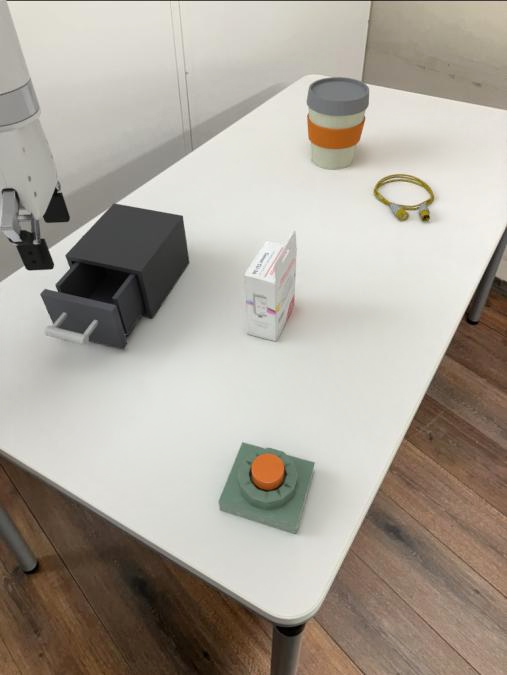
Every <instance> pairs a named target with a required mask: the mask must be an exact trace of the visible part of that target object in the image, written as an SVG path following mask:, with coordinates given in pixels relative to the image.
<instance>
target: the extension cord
mask: <svg viewBox="0 0 507 675" xmlns="http://www.w3.org/2000/svg"><path fill="white" fill-rule="evenodd" d="M393 182H408V183H411V184H415V185H418V186H420V187H422V188H424V189H425V190H426V191H428V193H429V195H430V197H429V198H428V199H426V200H424V201H422V202H420V203H418V204H415V205H407V204H399V203H395V202H391V201H389V200H388V199H386V198H385V197H384V196H383V195H382V194H381V193H380V192H379V191H378V189H379V188H380V187H381V186H383V185H385V184H388V183H393ZM373 194H374V196H375V198H377V199H378V200H379V201H380V202H382V203H383V204H385V205H387V206H389V209H390V210H391V211H392V213H393V215H394V216H396V217H397V218H398V219H399V220H401V221H402V222H404V221H406V220H408V219H409V217H410V215H409V212H408V211H409V210H410V211H415V210H418V214H419V217H420V218H421V221H422V222H429V221H430V220H431V215H430V214H431V212H430V208H429V207H428V206H429V205H431V204H432V203H433V202H434V200H435V195H434V191H433V189H432V188H431V186H429V184H428V183H427V182H425V181H424V180H422V179H421V178H419V177H416V176H414V175H411V174H406V173H395V174H389V175H387V176H385V177H382V178H381V179H380V180H379V181H378V182H376V184H375V186H374V188H373ZM406 210H408V211H406Z"/></svg>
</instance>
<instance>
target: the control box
mask: <svg viewBox="0 0 507 675" xmlns="http://www.w3.org/2000/svg"><path fill="white" fill-rule="evenodd" d="M262 454H273V455H276V456H277V457H279V458H280V459H281V460H282V462H283V464H284V479H283V482H282V483H281V485H280V486H279V487H277V488H276V489H273V490H263V489H260V488H259V487H257V486H256V485H255V484H254V482H253V480H252V471H251V467H252V463H253V461H254V460H255V459H256V458H257V457H258V456H260V455H262ZM315 463H316V462H314V461H311V460H307V459H303V458H300V457H297V456H292V455H289V454H287V453H285V452H284V451H283V450H279V449H275V448H273V447H266V448H265V447H262V446H258V445H254V444H250V443H248V442H243V441H242V442H241V444H240V447H239V449H238V452H237V454H236V456H235V459H234V461H233V464H232V467H231V469H230V472H229V475H228V477H227V480H226V482H225V485H224V486H223V489H222V492H221V494H220V497H219V499H218V507H219V511H221V512H224V513H228V514H230V515H234V516H236V517H237V516H238V517H240V518H243V519H247V520H249V521H252V522H256V523H259V524H262V525H265V526H268V527H271V528H274V529H278V530H280V531H283V532H287V533H289V534H293V535H297V532H298V528H299V525H300V521H301V519H302V514H303V511H304V507H305V504H306V500H307V498H308V497H307V496H308V493H309V490H310V487H311V482H312V479H313V475H314V472H315V466H316V464H315Z"/></svg>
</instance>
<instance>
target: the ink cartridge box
mask: <svg viewBox="0 0 507 675" xmlns="http://www.w3.org/2000/svg"><path fill="white" fill-rule="evenodd" d="M297 252H298V247H297V233H296V231H295V230H293V231H292V233H291V234H290V236H289V239H288V240H287V242H286V243H285V244H283V243H278V242H274V241H269V240H265V241H264V243H263V244H262V246H261V248H260V249H259V251H258V252H257V253H256V255H255V257H254V259H253V260H252V261H251V263H250V265H249V266H248V268H246V270H245V272H244V274H243V278H244V279H243V280H244V282H243V283H244V294H245V295H244V296H245V312H246V326H247V335H249V336H253V337H257V338H261V339H265V340H268V341H272V342H277V341H278V339H279V338H280V335H281V333H282V332H283V329H284V327H285V325H286V324H287V322H288V320H289V317H290V315H291V313H292V311H293V308H294V307H295V295H296V294H295V293H296V277H297V276H296V274H297V273H296V272H297V257H298V256H297V255H298V253H297Z"/></svg>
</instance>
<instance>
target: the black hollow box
mask: <svg viewBox="0 0 507 675" xmlns="http://www.w3.org/2000/svg"><path fill="white" fill-rule="evenodd" d="M187 242H188V241H187V235H186V228H185V220H184V216H183V215H181V214H177V213H175V214H174V213H171V212H170V213H169V212H165V211H159V210H154V209H148V208H142V207H138V206H131V205H125V204H120V203H112V204H111V206H109V208H108V209H106V211H105V212H104V213H103V214H102V215H101V216H100V218H98V219H97V221H95V223H94V224H93V225H92V226H91V227H90V228H88V230H87V231H86V232H85V233H84V234H83V235H82V237H81V238H79V240H78V241H77V242H76V243H75V244H74V245H73V246H72V247H71V248H70V249H69V251H68V252H67V253H66V254H65V255H64V257H65V259H66V262H67V264H68V266H69V269H70V268H71V267H72V266H73V264H74V263H75V262H81V263H86V264H90V265H95V266H100V267H105V268H109V269H114V270H119V271H123V272H128V273H133V274H137V275H138V279H139V283H140V287H141V291H142V295H143V299H144V303H145V307H146V309H145V310H144V312H143V313H142V315H141V316H140V317H142V318H147V319H151V320H152V319H154V317H155V316H156V314H157V313H158V311H159V310H160V308H161V307H162V306H163V304H164V302H165V301H166V299H167V297H168V296H169V295H170V293H171V291H173V288H174V287H175V285H176V284H177V282H178V281H179V280H180V278H181V276H182V275H183V273H184V272H185V270H186V269H187V267H188V266H189V264H190V256H189V250H188V243H187Z"/></svg>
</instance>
